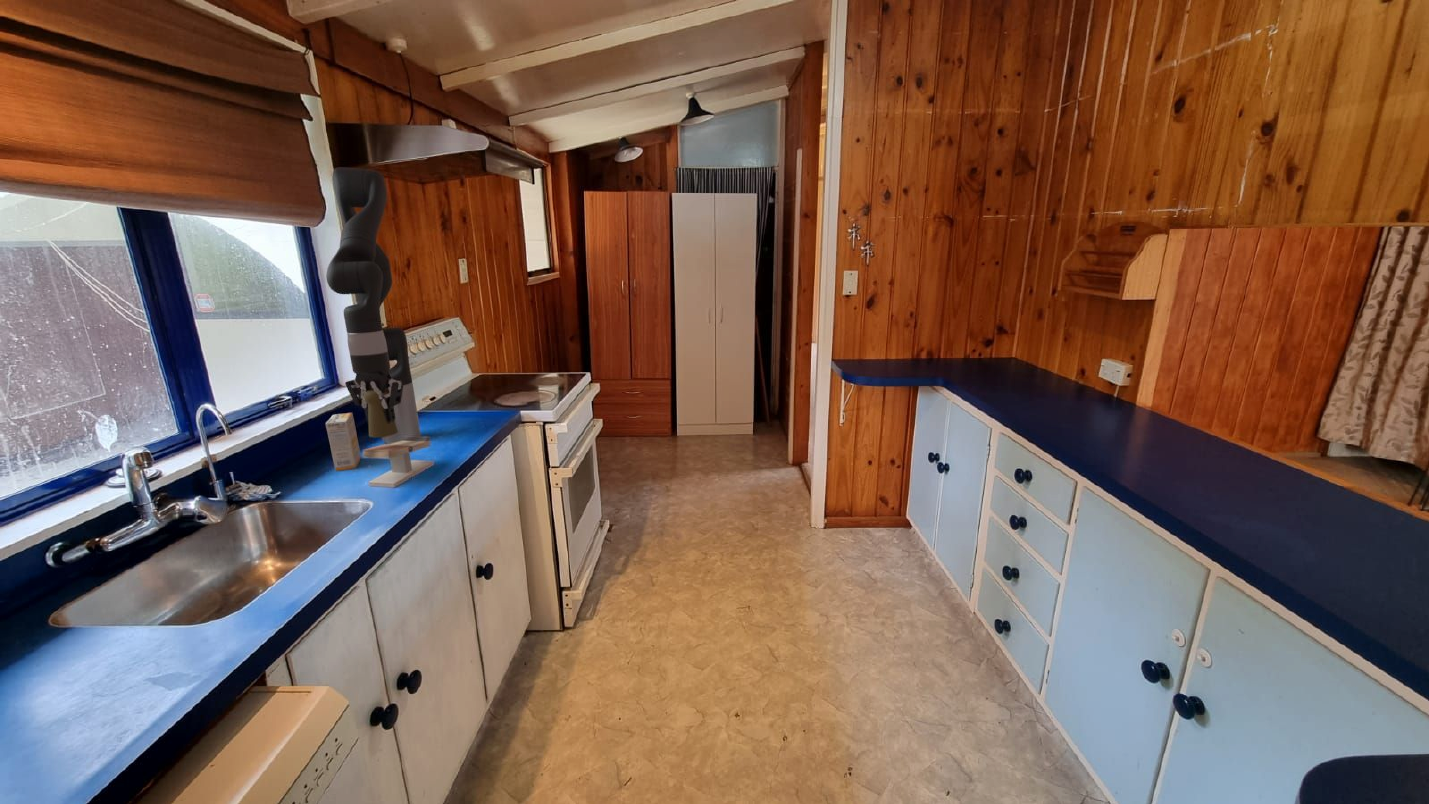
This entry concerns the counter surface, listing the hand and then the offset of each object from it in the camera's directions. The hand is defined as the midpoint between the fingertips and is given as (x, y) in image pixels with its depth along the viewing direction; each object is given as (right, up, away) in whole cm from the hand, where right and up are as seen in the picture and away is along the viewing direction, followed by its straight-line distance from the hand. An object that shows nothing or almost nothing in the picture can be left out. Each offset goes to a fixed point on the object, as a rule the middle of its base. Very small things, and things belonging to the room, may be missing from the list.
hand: (381, 422), depth 134 cm
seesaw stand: (+1, -13, +8) cm, 16 cm away
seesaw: (+1, -7, +6) cm, 9 cm away
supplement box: (-18, -12, +15) cm, 26 cm away
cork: (0, -3, +1) cm, 3 cm away
